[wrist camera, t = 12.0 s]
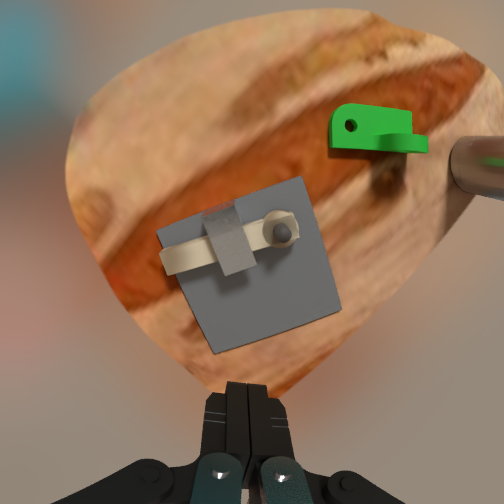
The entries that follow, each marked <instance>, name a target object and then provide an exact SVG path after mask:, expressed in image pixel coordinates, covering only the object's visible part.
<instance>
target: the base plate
mask: <svg viewBox="0 0 504 504" xmlns="http://www.w3.org/2000/svg"><path fill="white" fill-rule="evenodd" d="M234 200H235V203H236V205H237V208H238V211H239V213H240V216H241V218H242V225H243V224H246V223H250V222H253V221H257V220H260V219H263V217H264V216H265V215H266V214H267V213H268V212H270V211H272V210H275V209H282V210H285V211H287V212H288V211H291V212H292V213H293V214H294V217H295V219H296V221H297V223H298V227H299V237H300V238H296V240H295V241H294V243H292V244H291V245H290V246H288V247H285V248H275V247H272V246H269V247H265V248H262V249H258V250H255V251H253V254H254V257H255V259H256V262H257V265H255V266H252V267H249V268H247V269H244V270H241V271H238V272H236V273H233V274H230V275H227V276H225V275H224V272H223V270H222V268H221V265H220V263H219V261H217V262H214V263H210V264H207V265H203V266H200V267H197V268H193V269H190V270H186V271H183V272H179V273H176V274H175V275H176V277H177V279H178V281H179V284H180V286H181V288H182V290H183V292H184V294H185V296H186V298H187V300H188V302H189V304H190V307H191V309H192V311H193V313H194V315H195V317H196V319H197V321H198V323H199V325H200V327H201V329H202V331H203V333H204V335H205V337H206V339H207V340H208V342H209V344H210V346H211V348H212V350H213V352H214V354H215V353H219V352H222V351H225V350H228V349H232V348H235V347H238V346H241V345H244V344H247V343H250V342H254V341H257V340H260V339H263V338H266V337H269V336H271V335H274V334H277V333H280V332H283V331H286V330H289V329H291V328H294V327H297V326H300V325H303V324H305V323H308V322H311V321H313V320H316V319H319V318H321V317H324V316H327V315H329V314H332V313H334V312H337V311H339V310H342V307H341V304H340V300H339V296H338V292H337V289H336V285H335V282H334V278H333V274H332V271H331V267H330V264H329V260H328V257H327V254H326V250H325V247H324V244H323V240H322V237H321V234H320V231H319V227H318V224H317V221H316V218H315V215H314V212H313V209H312V205H311V202H310V199H309V196H308V193H307V190H306V187H305V184H304V181H303V178H302V176H298V177H295V178H292V179H289V180H287V181H284V182H281V183H278V184H275V185H272V186H270V187H267V188H264V189H261V190H258V191H256V192H253V193H250V194H248V195H245V196H242V197H239V198H237V199H234ZM231 201H233V200H231ZM231 201H229V202H231ZM226 203H228V202H226ZM224 204H225V203H224ZM221 205H223V204H221ZM218 206H220V205H218ZM216 207H217V206H216ZM213 208H215V207H213ZM211 209H212V208H211ZM208 210H210V209H208ZM205 211H207V210H205ZM205 211H203V212H200V213H198V214H195V215H193V216H190V217H188V218H185V219H183V220H180V221H178V222H175V223H173V224H170V225H168V226H165V227H163V228H161V229H158V230H157V231H156V232H157V235H158V237H159V239H160V241H161V244H162V246H163V248H167V247H171V246H174V245H177V244H180V243H183V242H187V241H190V240H193V239H196V238H200V237H203V236H206V235H208V234H207V231H206V229H205V226H204V224H203V222H202V219H201V216H202V215H203V213H204V212H205Z"/></svg>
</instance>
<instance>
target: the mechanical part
mask: <svg viewBox="0 0 504 504" xmlns="http://www.w3.org/2000/svg"><path fill="white" fill-rule="evenodd" d="M346 120H348V121H350V122H352V124H353V131H352V132H349V131H347V130H346V128H345V122H346ZM329 148H345V149H363V150H377V151H389V152H400V153H428V137H427V136H423V135H417V134H412V114H411V111H405V110H399V109H392V108H385V107H378V106H370V105H361V104H345V105H343V106H341V107H339V108H337V109H336V110H335V111H334V112H333V113H332V114H331V116H330V119H329Z"/></svg>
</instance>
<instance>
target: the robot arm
mask: <svg viewBox="0 0 504 504" xmlns="http://www.w3.org/2000/svg"><path fill="white" fill-rule="evenodd" d="M451 170H452V174H453V177H454V180H455V182H456V183H457V185H458V186H459V187H460V188H461V189H462V190H463V191H465V192H468V193H472V194H477V195H481V196H485V197H489V198H494V199H498V200H502V201H504V136H465V137H462V138H460V139H459V140H458V141H457V142H456V143H455V145H454V147H453V150H452V153H451ZM242 489H249V499H248V502H247V504H405V503H403V502H402V501H400V500H398V499H397V498H395V497H393V496H392V495H390V494H389V493H387V492H385V491H384V490H382V489H381V488H379V487H377V486H376V485H374V484H373V483H371V482H370V481H368V480H367V479H365V478H364V477H362V476H361V475H359V474H357V473H355V472H352V471H339V472H336V473H335V474H333V475H332V476H331V477H327V476H322V475H317V474H313V473H310V472H308V471H306V470H304V469H303V468H302V467H301V465H300V464H299V463H298V462H297V461H296V460H295V457H294V452H293V447H292V443H291V436H290V431H289V428H288V421H287V415H286V410H285V407H284V406H283V405H282V403H281V402H280V400H279V399H276V398H268V393H267V387H266V385H259V384H249V383H247V385H246V383H239V382H230V381H227V385H226V390H225V394H223V393H215V392H212V394H211V395H210V396H209V398H208V399H207V400H206V406H205V414H204V423H203V431H202V442H201V451H200V456H199V457H198V458H197V459H196V461H194V462H193V463H191V464H189V465H186V466H181V467H170V468H169V467H168V466H167V465H165V464H164V463H162V462H160V461H158V460H154V459H141V460H138V461H136V462H134V463H132V464H130V465H128V466H126V467H125V468H123V469H121V470H119V471H117V472H115V473H113V474H112V475H110V476H108V477H106V478H104V479H102V480H100V481H98V482H96V483H94V484H92V485H90V486H88V487H86V488H84V489H82V490H80V491H78V492H76V493H74V494H72V495H69V496H67V497H65V498H63V499H60V500H58V501H56V502H54V503H51V504H241V494H242Z"/></svg>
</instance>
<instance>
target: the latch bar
mask: <svg viewBox="0 0 504 504" xmlns="http://www.w3.org/2000/svg"><path fill="white" fill-rule="evenodd" d="M243 228H244V230H245V233H246V236H247V238H248V241H249V244H250V246H251V249H252V251H255V250H258V249H262V248H265V247H269V246H272V247H275V248H285V247H288V246H290V245H291V244H292V243H294V241H295V240H296V238H300V237H299V227H298V223H297V221H296V219H295V217H294V214H293V213H292V212H291V211H288V212H287V211H285V210H282V209H275V210H272V211H270V212H268V213H267V214H266V215H265V216H264V217H263V219H260V220H257V221H253V222H250V223H246V224H243ZM159 255H160V257H161V260H162V263H163V265H164V268H165V271H166V273H167V276H169V275H173V274H176V273H179V272H183V271H186V270H190V269H193V268H197V267H200V266H203V265H207V264H210V263H214V262H217V261H219V260H218V258H217V256H216V253H215V251H214V248H213V246H212V244H211V241H210V239H209V236H208V235H206V236H203V237H200V238H196V239H193V240H190V241H187V242H183V243H180V244H177V245H174V246H171V247H167V248H164V249H163V250H162V251H161V252H160V254H159Z"/></svg>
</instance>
